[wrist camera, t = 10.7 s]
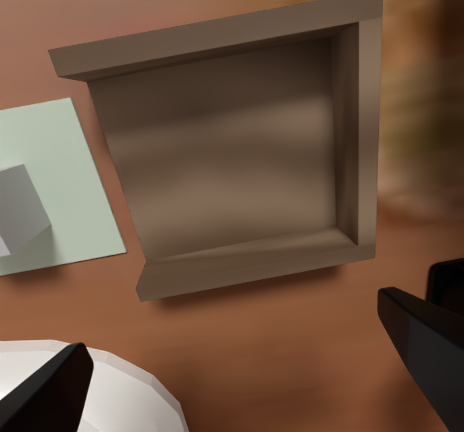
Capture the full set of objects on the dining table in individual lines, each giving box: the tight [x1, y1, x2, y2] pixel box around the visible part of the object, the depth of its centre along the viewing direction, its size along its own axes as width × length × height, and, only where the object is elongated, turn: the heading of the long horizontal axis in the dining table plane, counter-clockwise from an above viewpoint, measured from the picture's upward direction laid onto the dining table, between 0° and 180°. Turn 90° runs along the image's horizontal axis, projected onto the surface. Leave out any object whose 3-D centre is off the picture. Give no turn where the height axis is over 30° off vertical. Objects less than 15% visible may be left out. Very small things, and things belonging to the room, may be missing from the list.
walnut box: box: [48, 0, 383, 302], centre depth 16 cm, size 13×14×4 cm
